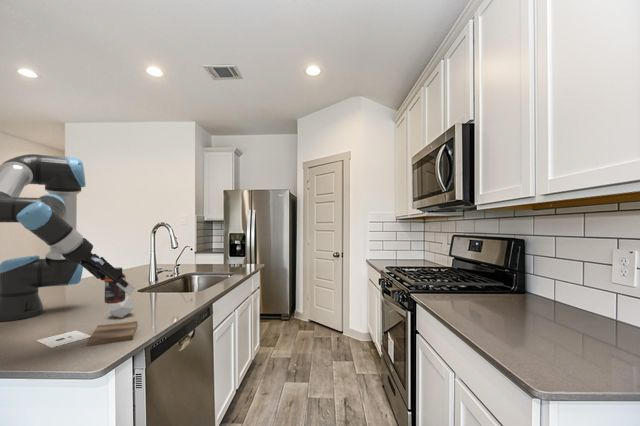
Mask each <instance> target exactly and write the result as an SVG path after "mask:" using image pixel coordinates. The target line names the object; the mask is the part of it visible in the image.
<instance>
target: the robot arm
mask: <svg viewBox="0 0 640 426" xmlns="http://www.w3.org/2000/svg"><path fill="white" fill-rule="evenodd" d="M86 183H87V182H86V176H85V168H84V165H83V161H82V160H81V159H80V158H76V157H70V156H58V155H43V154H33V153H32V154H30V153H29V154H23V155H18V156H14V157H12V158H9V159H7V160H5V161H4V162H2V164H0V223H19V224H21V225H22V226H23V227H24V228H25V229H26V230H28V231H29V232H30V233H32V234H33V235H35V236H36V237H37V238H39V239H40V240H41V241H42V242H44V243H45V244H46V245H47V246H49V247H50V248H49V249H50V251H48V252H47V253H46V254H45V255H44V256H45V258H41V257H40V256H39V255H38V254H37V255H36V254H35V255H28V256H21V257H16V258H9V259H6V260H3V261H1V263H0V322H9V321H18V320H25V319H29V318H33V317H36V316H40V315H41V314H43V313H44V305H43V302H42V300H41V298H40V297H41V296H40V295H39V289H40V288H49V287H51V288H52V287H63V286H67V287H68V286H72V285H77V284H79V283H80V282H81V281H82V277H83V276H82V275H83V270H84V269H85V270H86V271H88V272H89V273H90V274H92V276H94V277H95V278H96V279H97V280H101V281H103V282H104V283H105V276H107V277H108V278H110V279H111V280H113V281H114V282H115V283H114V285H117V286H118V287H120V288H121V289H122V290H123V291H125V294H127V295H128V296H130V295H131V294H132V293H133V292H134V291H135V289H136V287H135V286H134V285H132V284H131V283H130V282H129V281H127V279H126V280H125V279H124V278H123V277H124V275H123V274H124V273H123V274H121V273H120V272H119V271H118V270H117V269H115V268H116V267H114V266H113V265H111V263H109V262H108V261H107V260H106V259H105V258H104V257H103V256H99V255H98V254H97V253H92V250H93V248H94V245H93V244H92V243H91V242H90V241H89V240H88V239H87V238H85V237H84V235H82V234H81V233H80V232H79V231H78V230H77V221H78V220H77V216H78V215H77V212H78V211H77V208H78V207H77V206H78V205H77V202H78V201H77V200H78V197H77V196H78V195H79V194H80V193H81V192H82V188H85V187H86ZM28 185H39V186H42V185H43V186H44V191H46V192H47V194H43V195H42V196H39V197H26V196H25V197H22V196H21V197H20V195H21V193H22V192H23V190H24V188H25V187H26V186H28Z"/></svg>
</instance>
